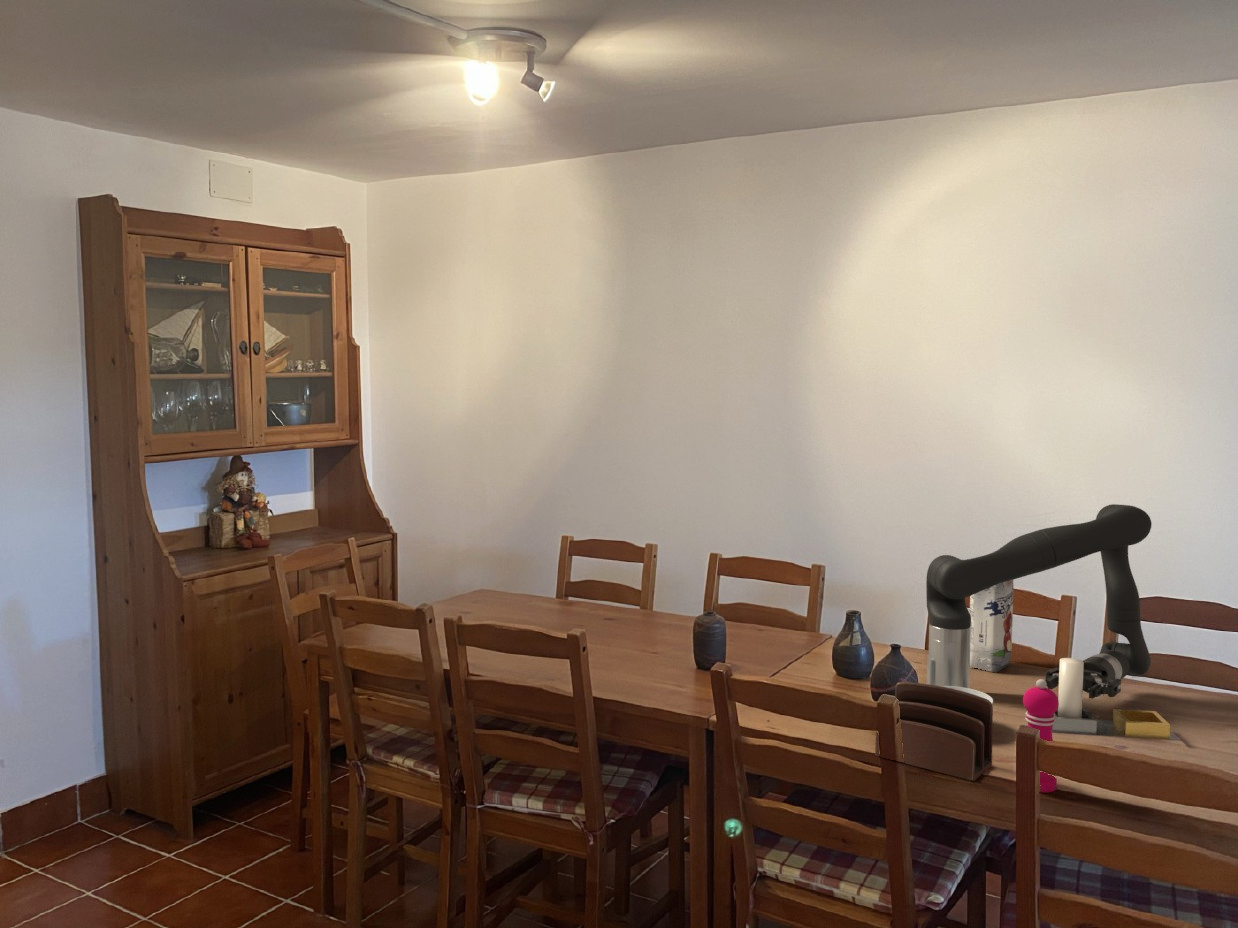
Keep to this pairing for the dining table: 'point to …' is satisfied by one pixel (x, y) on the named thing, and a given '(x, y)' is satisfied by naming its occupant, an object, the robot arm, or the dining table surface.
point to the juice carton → (991, 627)
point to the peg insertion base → (1117, 725)
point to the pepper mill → (1042, 721)
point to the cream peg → (1070, 688)
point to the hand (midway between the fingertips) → (1069, 688)
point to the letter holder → (944, 729)
